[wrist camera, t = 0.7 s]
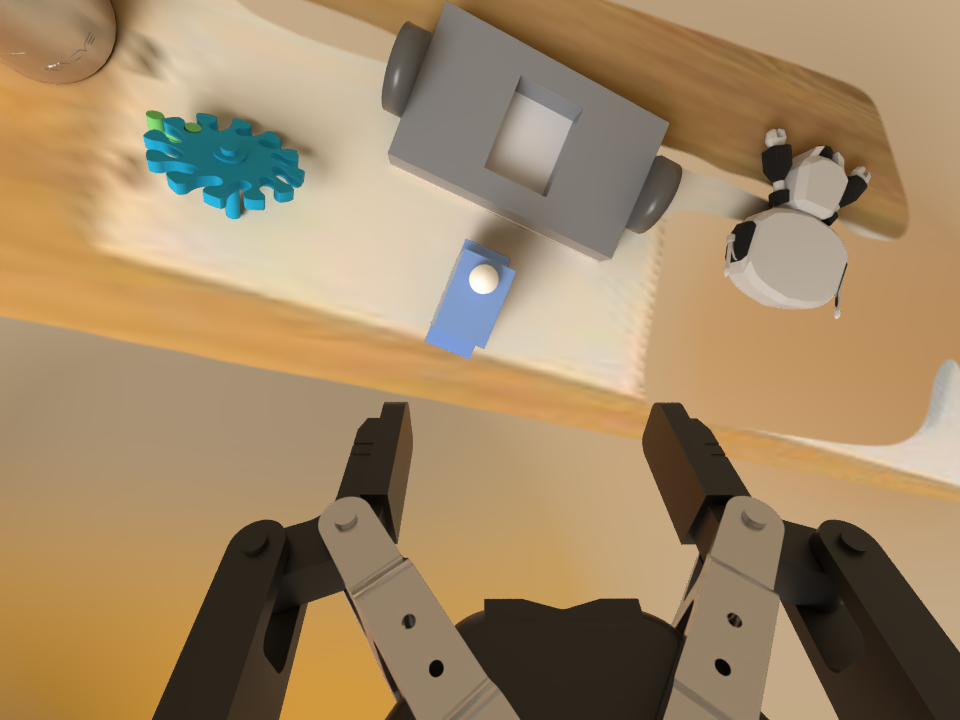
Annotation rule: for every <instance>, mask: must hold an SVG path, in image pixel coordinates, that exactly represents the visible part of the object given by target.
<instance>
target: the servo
mask: <svg viewBox="0 0 960 720" xmlns="http://www.w3.org/2000/svg"><path fill="white" fill-rule="evenodd" d="M510 260H511V259H510V258H508V257H506V256H504V255H501V254H499V253H497V252H495V251H493V250H490V249H488V248H486V247H484V246H481V245H479V244H477V243H475V242H473V241H470V240H468V239H466V240H465V242H464V245H463V247H462V250H461V252H460V255H459V257H458V258H457V260H456V262H455V265H454V267H453V270H452V272H451V275H450V277H449V280H448V282H447V284H446V287H445V289H444V292H443V294H442V297H441V299H440V302H439V304H438V307H437V309H436V312H435V314H434V317H433V319H432V322H431V327H430V329H429V331H428V334H427V336H426V339H425V342H427V343H429V344H432V345H434V346H437V347H439V348H442V349H445V350H447V351H450V352H452V353H455V354H457V355H460V356H462V357H465V358H467V359H470V357H471V354H472V352H473V349H474V347H475V345H476V346H478V347H481V348H483V349H484V348H485V346H486V344H487V341H488V339H489V336H490V334H491V331H492V329H493V327H494V324H495V322H496V319H497V317H498V315H499V312H500V310H501V307H502V305H503V303H504V300H505V298H506V295H507V293H508V291H509V288H510V286H511V283H512V281H513V278H514V276H515V274H516V271H515V270H512V269H510V268H508V265H509V262H510Z"/></svg>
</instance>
